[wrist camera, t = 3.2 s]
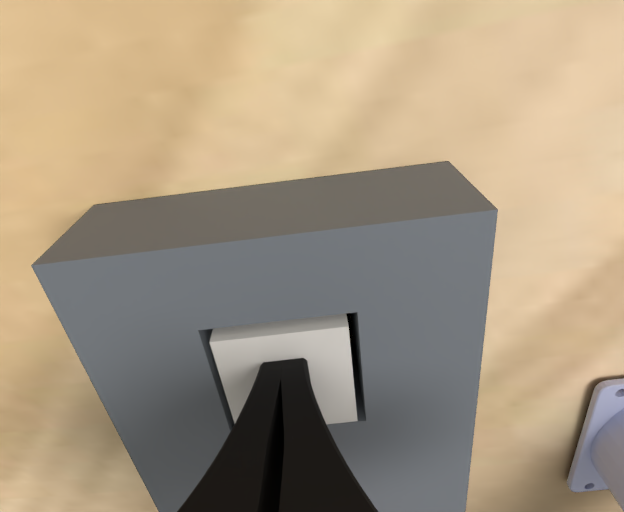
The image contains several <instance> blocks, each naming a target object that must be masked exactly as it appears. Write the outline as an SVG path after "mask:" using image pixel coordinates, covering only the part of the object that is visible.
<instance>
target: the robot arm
mask: <svg viewBox="0 0 624 512" xmlns="http://www.w3.org/2000/svg"><path fill="white" fill-rule="evenodd" d="M567 485H568V487H569V489H570V490H571V491H573V492H585V491H595V490H605V489H609V490H610V492H611V493H612V495H613V496H614V498H615V499H616V501H617V502H618V504H619V505H620V507H621V508H622V510H623V511H624V378H623V379H613V380H605V381H602V382H600V383H598V384H597V385H596V387H595V388H594V391H593V394H592V398H591V401H590V405H589V408H588V411H587V415H586V418H585V421H584V425H583V428H582V432H581V435H580V438H579V442H578V445H577V448H576V452H575V455H574V459H573V462H572V465H571V469H570V472H569V475H568V479H567ZM177 512H378V511H377V509H376V508H375V506H374V505H373V503H372V502H371V500H370V499H369V497H368V496H367V494H366V493H365V492H364V490H363V489H362V487H361V486H360V484H359V483H358V481H357V480H356V478H355V476H354V475H353V473H352V471H351V470H350V468H349V466H348V465H347V463H346V461H345V459H344V458H343V456H342V454H341V452H340V451H339V449H338V447H337V445H336V443H335V441H334V439H333V437H332V435H331V433H330V431H329V429H328V427H327V425H326V422H325V420H324V418H323V415H322V413H321V410H320V408H319V405H318V403H317V400H316V398H315V395H314V392H313V389H312V385H311V380H310V374H309V368H308V362H307V360H306V359H304V358H297V359H289V360H280V361H271V362H263V363H262V364H261V365H260V368H259V371H258V374H257V377H256V379H255V382H254V384H253V387H252V389H251V391H250V393H249V396H248V398H247V400H246V402H245V404H244V406H243V408H242V410H241V413H240V415H239V417H238V419H237V421H236V423H235V424H234V426H233V428H232V430H231V432H230V433H229V435H228V437H227V439H226V441H225V442H224V444H223V446H222V448H221V449H220V451H219V453H218V454H217V456H216V457H215V459H214V461H213V462H212V464H211V465H210V467H209V468H208V470H207V471H206V473H205V474H204V476H203V477H202V479H201V480H200V482H199V483H198V484H197V486H196V487H195V488H194V490H193V491H192V493H191V494H190V495H189V497H188V498H187V499H186V501H185V502H184V503H183V505H182V506H181V507H180V508H179V510H178V511H177Z"/></svg>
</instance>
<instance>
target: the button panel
mask: <svg viewBox="0 0 624 512" xmlns="http://www.w3.org/2000/svg"><path fill="white" fill-rule="evenodd" d="M497 212H498V209H497V208H496V207H495V206H494V205H493V204H492V203H491V202H489V201H488V200H487V199H486V198H485V197H484V196H483V195H482V194H481V193H480V192H479V191H478V190H477V189H476V188H475V187H474V186H473V185H472V184H471V183H470V182H469V181H468V180H467V179H466V178H465V177H464V176H463V175H462V174H461V173H460V172H459V171H458V170H457V169H456V168H455V167H454V166H453V165H452V164H451V163H450V162H449V161H445V162H437V163H429V164H421V165H413V166H405V167H397V168H389V169H381V170H373V171H364V172H356V173H348V174H340V175H332V176H324V177H316V178H308V179H300V180H292V181H283V182H275V183H267V184H259V185H251V186H243V187H235V188H227V189H219V190H211V191H202V192H194V193H186V194H178V195H170V196H162V197H154V198H146V199H138V200H130V201H121V202H113V203H105V204H97V205H94V206H93V207H91V208H90V209H89V210H88V211H87V212H86V213H85V214H84V215H83V216H82V217H81V218H80V219H79V220H78V221H77V222H76V223H75V224H74V225H73V226H72V227H71V228H70V229H69V230H68V231H67V232H66V233H64V234H63V235H62V236H61V237H60V238H59V239H58V240H57V241H56V242H55V243H54V244H53V245H52V246H51V247H50V248H49V249H48V250H47V251H46V252H45V253H44V254H43V255H42V256H41V257H40V258H38V259H37V260H36V261H35V262H34V263H33V264H32V265H31V266H32V268H33V270H34V272H35V274H36V276H37V278H38V280H39V281H40V283H41V285H42V287H43V289H44V291H45V293H46V295H47V297H48V299H49V301H50V303H51V305H52V307H53V308H54V310H55V312H56V314H57V316H58V318H59V320H60V322H61V324H62V326H63V328H64V330H65V332H66V334H67V335H68V337H69V339H70V341H71V343H72V345H73V347H74V349H75V351H76V353H77V355H78V357H79V359H80V361H81V363H82V364H83V366H84V368H85V370H86V372H87V374H88V376H89V378H90V380H91V382H92V384H93V386H94V388H95V390H96V391H97V393H98V395H99V397H100V399H101V401H102V403H103V405H104V407H105V409H106V411H107V413H108V415H109V417H110V418H111V420H112V422H113V424H114V426H115V428H116V430H117V432H118V434H119V436H120V438H121V440H122V442H123V444H124V445H125V447H126V449H127V451H128V453H129V455H130V457H131V459H132V461H133V463H134V465H135V467H136V469H137V471H138V472H139V474H140V476H141V478H142V480H143V482H144V484H145V486H146V488H147V490H148V492H149V494H150V496H151V498H152V499H153V501H154V503H155V505H156V507H157V509H158V511H159V512H177V511H178V510H179V508H180V507H181V506H182V505H183V503H184V502H185V501H186V499H187V498H188V497H189V495H190V494H191V493H192V491H193V490H194V488H195V487H196V486H197V484H198V483H199V482H200V480H201V479H202V477H203V476H204V474H205V473H206V471H207V470H208V468H209V467H210V465H211V464H212V462H213V461H214V459H215V457H216V456H217V454H218V453H219V451H220V449H221V448H222V446H223V444H224V442H225V441H226V439H227V437H228V435H229V433H230V432H231V430H232V428H233V426H234V420H233V417H232V414H231V411H230V407H229V404H228V401H227V398H226V394H225V391H224V388H223V385H222V381H221V378H220V375H219V372H218V368H217V365H216V362H215V359H214V355H213V352H212V349H211V346H210V338H211V334H212V331H213V329H214V328H223V327H232V326H241V325H249V324H258V323H267V322H276V321H284V320H293V319H302V318H311V317H319V316H328V315H337V314H346V313H350V319H351V330H352V342H350V347H351V357H352V368H353V378H354V389H355V399H356V410H357V420H358V421H354V422H345V423H335V424H326V425H327V427H328V429H329V431H330V433H331V435H332V437H333V439H334V441H335V443H336V445H337V447H338V449H339V451H340V452H341V454H342V456H343V458H344V459H345V461H346V463H347V465H348V466H349V468H350V470H351V471H352V473H353V475H354V476H355V478H356V480H357V481H358V483H359V484H360V486H361V487H362V489H363V490H364V492H365V493H366V494H367V496H368V497H369V499H370V500H371V502H372V503H373V505H374V506H375V508H376V509H377V511H378V512H465V510H466V500H467V491H468V482H469V472H470V463H471V454H472V445H473V435H474V426H475V417H476V407H477V398H478V389H479V379H480V370H481V361H482V351H483V342H484V333H485V324H486V314H487V305H488V296H489V286H490V277H491V268H492V258H493V249H494V240H495V230H496V221H497Z"/></svg>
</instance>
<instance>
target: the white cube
mask: <svg viewBox="0 0 624 512" xmlns="http://www.w3.org/2000/svg"><path fill="white" fill-rule="evenodd" d="M210 346H211V349H212V352H213V355H214V359H215V362H216V365H217V368H218V372H219V375H220V378H221V381H222V385H223V388H224V391H225V394H226V398H227V401H228V404H229V407H230V411H231V414H232V417H233V420H234V424H235V423H236V421H237V419H238V417H239V415H240V413H241V410H242V408H243V406H244V404H245V402H246V400H247V398H248V396H249V393H250V391H251V389H252V387H253V384H254V382H255V379H256V377H257V374H258V371H259V368H260V365H261V364H262V363H263V362H271V361H280V360H289V359H297V358H304V359H306V360H307V362H308V368H309V374H310V380H311V385H312V389H313V392H314V395H315V398H316V400H317V403H318V405H319V408H320V410H321V413H322V415H323V418H324V420H325V422H326V424H335V423H345V422H354V421H358V420H357V410H356V399H355V389H354V378H353V368H352V357H351V347H350V336H349V326H348V320H347V314H337V315H328V316H319V317H311V318H302V319H293V320H284V321H276V322H267V323H258V324H249V325H241V326H232V327H223V328H214V329H213V331H212V334H211V338H210Z"/></svg>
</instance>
